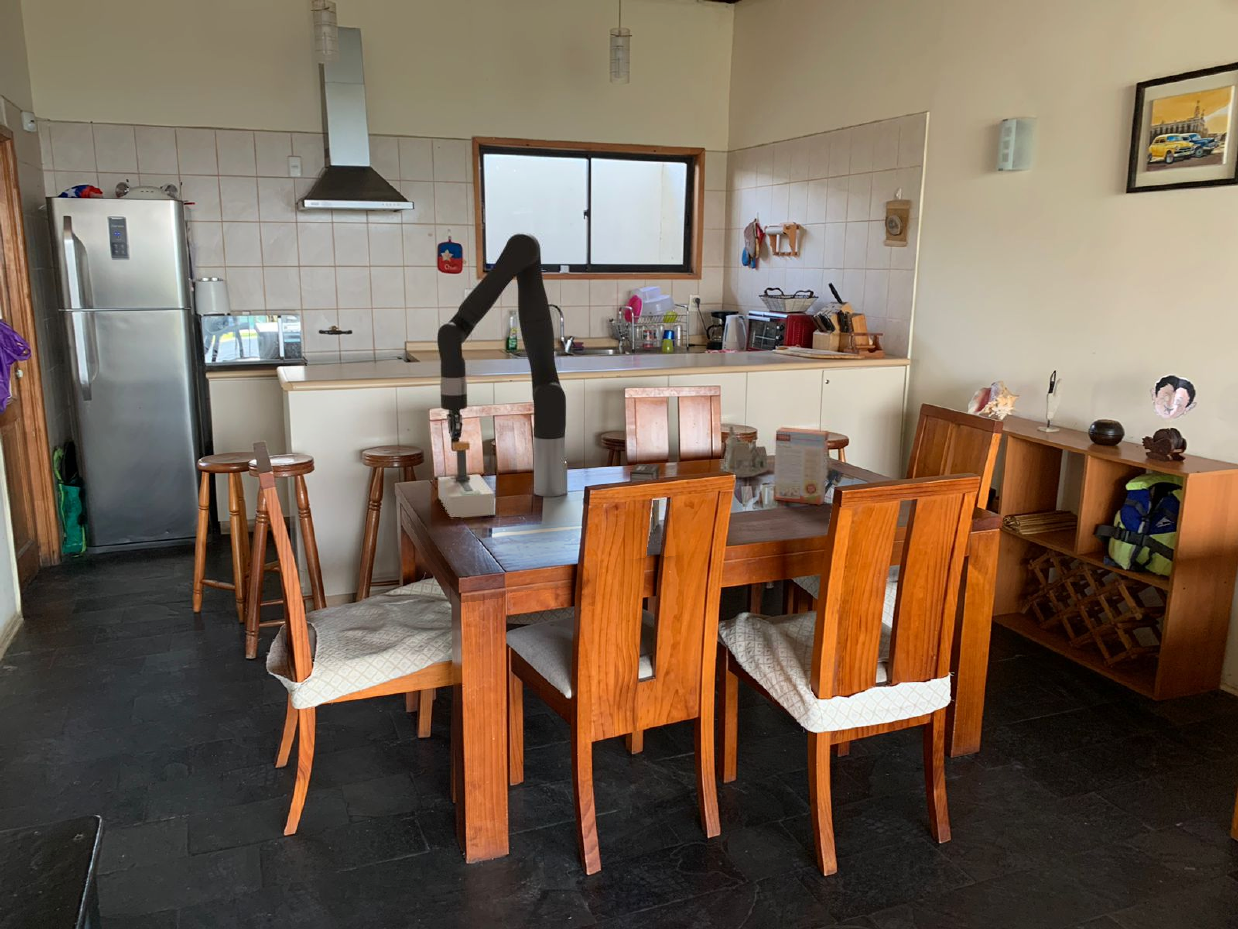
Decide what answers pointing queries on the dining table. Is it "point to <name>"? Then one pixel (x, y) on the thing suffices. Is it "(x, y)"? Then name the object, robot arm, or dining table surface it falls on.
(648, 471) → the coffee box
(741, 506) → the dining table surface
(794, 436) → the cracker box
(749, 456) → the ceramic cottage
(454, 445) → the breaker knob
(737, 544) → the dining table surface
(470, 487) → the switch panel
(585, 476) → the dining table surface
